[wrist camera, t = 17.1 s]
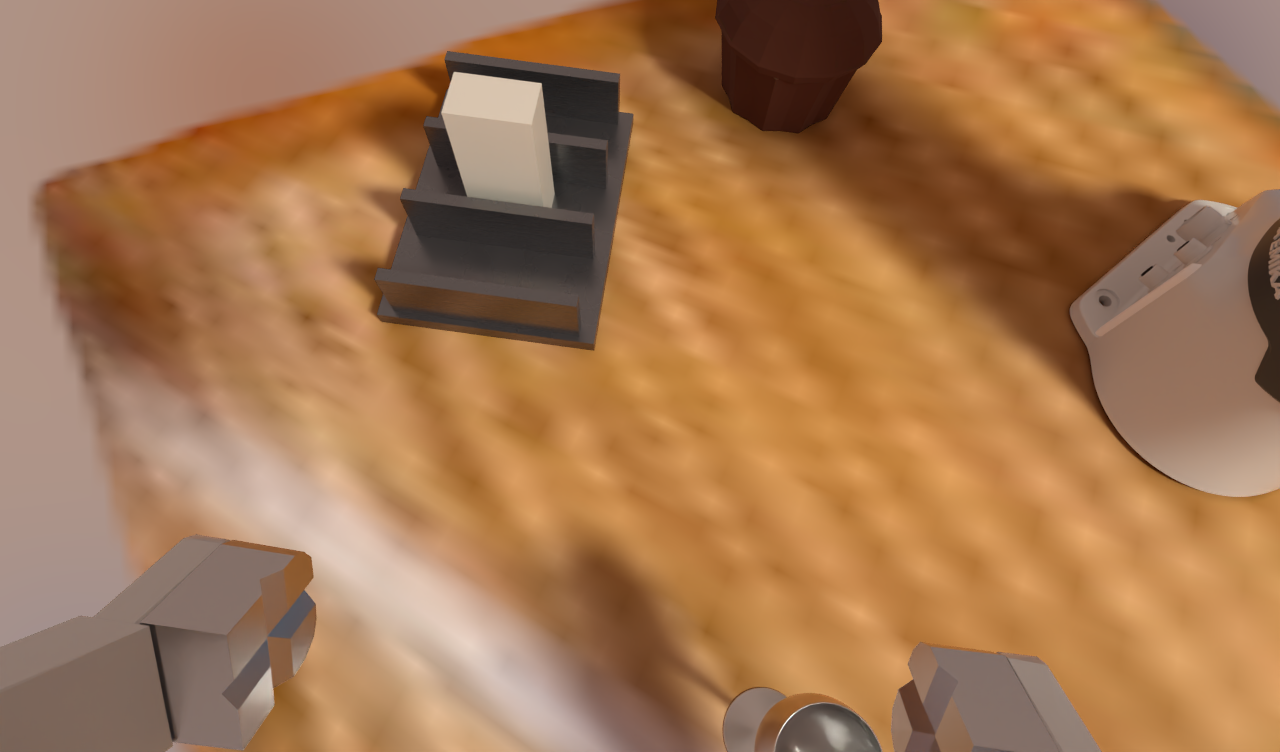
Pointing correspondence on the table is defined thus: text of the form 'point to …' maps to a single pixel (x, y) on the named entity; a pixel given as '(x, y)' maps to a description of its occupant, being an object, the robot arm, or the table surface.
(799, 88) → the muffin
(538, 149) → the tall cream block
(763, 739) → the goblet set
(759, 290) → the table surface
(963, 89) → the table surface
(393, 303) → the dish rack
